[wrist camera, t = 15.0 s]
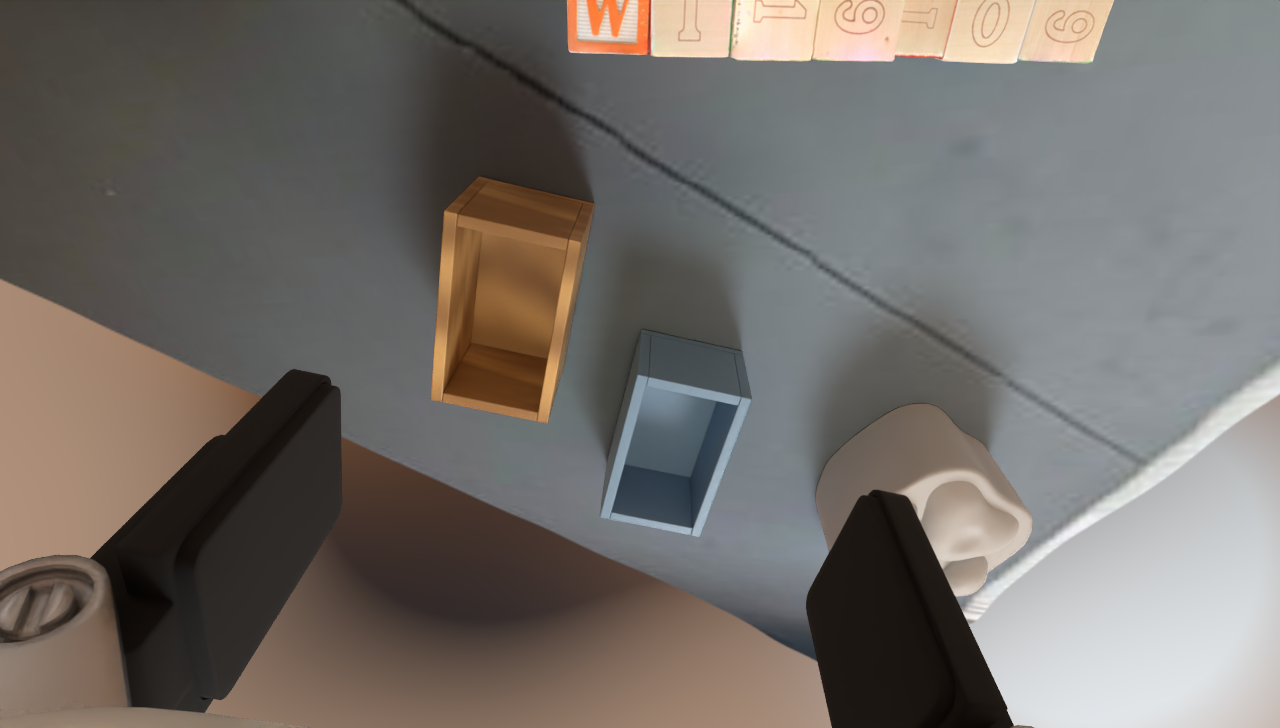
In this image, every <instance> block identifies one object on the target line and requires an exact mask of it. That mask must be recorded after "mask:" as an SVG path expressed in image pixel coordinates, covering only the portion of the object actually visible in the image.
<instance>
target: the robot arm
mask: <svg viewBox="0 0 1280 728" xmlns="http://www.w3.org/2000/svg"><path fill="white" fill-rule="evenodd" d="M341 467H342V465H341V394H340V389H339V388H338V387H336V386H331V380H330V378H329V377H328V376H325V375H320V374H315V373H311V372H306V371H301V370H296V369H293V370H290V371H289V372H287V373H286V374H285V375H284V376H283V377H282V378H281V379H280V380H279V381H278V382H277V383H276V384H275V385H274V386H273V387H272V388H271V389H270V390H269V391H268V392H267V393H266V394H265V395H264V396H263V397H262V398H261V399H260V401H259V402H258V403H257V404H256V405H255V406H254V407H253V408H252V409H251V410H250V411H249V412H248V413H247V414H246V415H245V416H244V417H243V418H242V419H241V420H240V421H239V422H238V423H237V424H236V425H235V426H234V427H233V428H232V429H231V430H230V431H229V432H228V433H227V434H226V435H220V436H216V437H214V438H213V439H211V440H210V441H209V442H207V443H206V444H205V445H204V446H203V447H202V448H201V449H200V450H199V451H198V452H197V453H196V454H195V455H194V456H193V457H192V458H191V459H190V460H189V461H188V462H187V463H186V464H185V465H184V466H183V467H182V468H181V469H180V470H179V471H178V472H177V473H176V474H175V475H174V476H173V477H172V478H171V479H170V480H169V481H168V482H167V483H166V484H165V485H164V486H163V487H162V488H161V489H160V490H159V491H158V492H157V493H156V494H155V495H154V496H153V497H152V498H151V499H149V501H148V502H147V503H146V504H144V506H142V507H141V508H140V509H139V510H138V511H137V512H136V513H135V514H134V515H133V516H132V517H131V518H130V519H129V520H128V521H127V522H126V523H125V524H124V525H123V526H122V527H121V528H120V529H119V530H118V531H117V532H116V533H115V534H114V535H113V536H112V537H111V538H110V539H109V540H108V541H107V542H106V543H105V544H104V545H103V546H102V547H101V548H100V549H99V550H98V551H97V552H96V553H95V554H94V555H93V556H92V557H91V558H90V559H89V558H85V557H81V556H78V555H54V556H48V557H42V558H36V559H31V560H28V561H26V562H23V563H20V564H17V565H14V566H11V567H8V568H6V569H4V570H3V571H1V572H0V728H308V727H301V726H293V725H287V724H280V723H273V722H265V721H259V720H251V719H244V718H237V717H230V716H223V715H216V714H209V713H205V711H206V710H207V708H208V707H209V705H210V704H211V702H212V700H213V699H217V700H222V699H224V698H225V697H226V696H227V695H228V694H229V692H230V691H231V690H232V688H233V686H234V685H235V683H236V682H237V680H238V678H239V677H240V675H241V674H242V672H243V671H244V669H245V667H246V666H247V664H248V662H249V661H250V659H251V657H252V656H253V654H254V653H255V651H256V650H257V648H258V646H259V645H260V643H261V641H262V640H263V638H264V637H265V635H266V634H267V632H268V630H269V629H270V627H271V626H272V624H273V622H274V621H275V619H276V617H277V616H278V614H279V613H280V611H281V609H282V608H283V606H284V605H285V603H286V601H287V600H288V598H289V597H290V595H291V593H292V592H293V590H294V589H295V587H296V585H297V584H298V582H299V581H300V579H301V577H302V576H303V574H304V572H305V571H306V569H307V568H308V566H309V564H310V563H311V561H312V560H313V558H314V556H315V555H316V553H317V552H318V550H319V548H320V547H321V545H322V544H323V542H324V540H325V539H326V537H327V536H328V534H329V532H330V530H331V529H332V528H333V526H334V524H335V523H336V521H337V518H338V516H339V513H340V510H341V505H342V468H341ZM806 610H807V616H808V620H809V625H810V630H811V634H812V639H813V643H814V648H815V652H816V657H817V661H818V666H819V670H820V675H821V680H822V684H823V689H824V693H825V698H826V703H827V707H828V712H829V716H830V721H831V725H832V728H1034V727H1031V726H1020V725H1017V726H1014V725H1013V723H1012V721H1011V719H1010V716H1009V714H1008V712H1007V706H1006V704H1005V702H1004V700H1003V698H1002V695H1001V693H1000V691H999V689H998V687H997V685H996V683H995V681H994V678H993V676H992V674H991V672H990V670H989V668H988V666H987V663H986V661H985V659H984V657H983V655H982V653H981V651H980V648H979V646H978V644H977V642H976V640H975V638H974V636H973V634H972V631H971V629H970V627H969V625H968V623H967V621H966V618H965V616H964V614H963V612H962V610H961V608H960V606H959V604H958V601H957V599H956V597H955V595H954V593H953V591H952V589H951V586H950V584H949V582H948V580H947V578H946V576H945V574H944V571H943V569H942V567H941V565H940V563H939V561H938V559H937V557H936V554H935V552H934V550H933V548H932V546H931V544H930V542H929V539H928V537H927V535H926V533H925V531H924V529H923V527H922V524H921V522H920V520H919V518H918V516H917V514H916V512H915V510H914V507H913V505H912V503H911V501H910V500H909V498H908V497H907V496H905V495H901V494H897V493H892V492H887V491H882V490H877V489H876V490H872V491H871V492H870V493H869V494H868V496H867V495H862V496H860V497H859V498H858V500H857V502H856V503H855V505H854V507H853V509H852V511H851V513H850V515H849V517H848V518H847V520H846V522H845V524H844V526H843V528H842V530H841V532H840V533H839V535H838V537H837V539H836V541H835V543H834V545H833V547H832V548H831V550H830V552H829V554H828V556H827V558H826V560H825V562H824V563H823V565H822V567H821V569H820V571H819V573H818V575H817V577H816V578H815V580H814V582H813V584H812V586H811V588H810V590H809V592H808V595H807V601H806Z"/></svg>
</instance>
